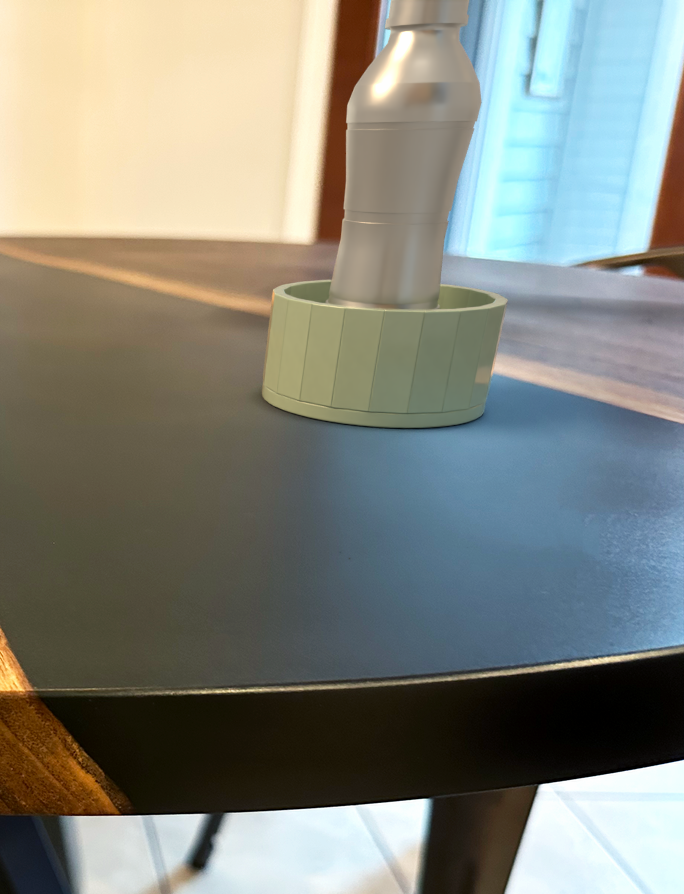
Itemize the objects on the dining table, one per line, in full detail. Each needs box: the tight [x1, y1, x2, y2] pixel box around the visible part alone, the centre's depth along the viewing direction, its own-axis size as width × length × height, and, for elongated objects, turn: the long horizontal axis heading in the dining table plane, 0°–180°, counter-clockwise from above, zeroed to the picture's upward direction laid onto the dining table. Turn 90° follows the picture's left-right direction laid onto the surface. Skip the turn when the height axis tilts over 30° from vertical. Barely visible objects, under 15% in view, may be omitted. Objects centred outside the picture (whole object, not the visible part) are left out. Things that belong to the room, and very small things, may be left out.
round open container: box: [261, 279, 509, 429], centre depth 57 cm, size 12×12×6 cm
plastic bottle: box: [325, 0, 482, 310], centre depth 54 cm, size 6×7×20 cm
